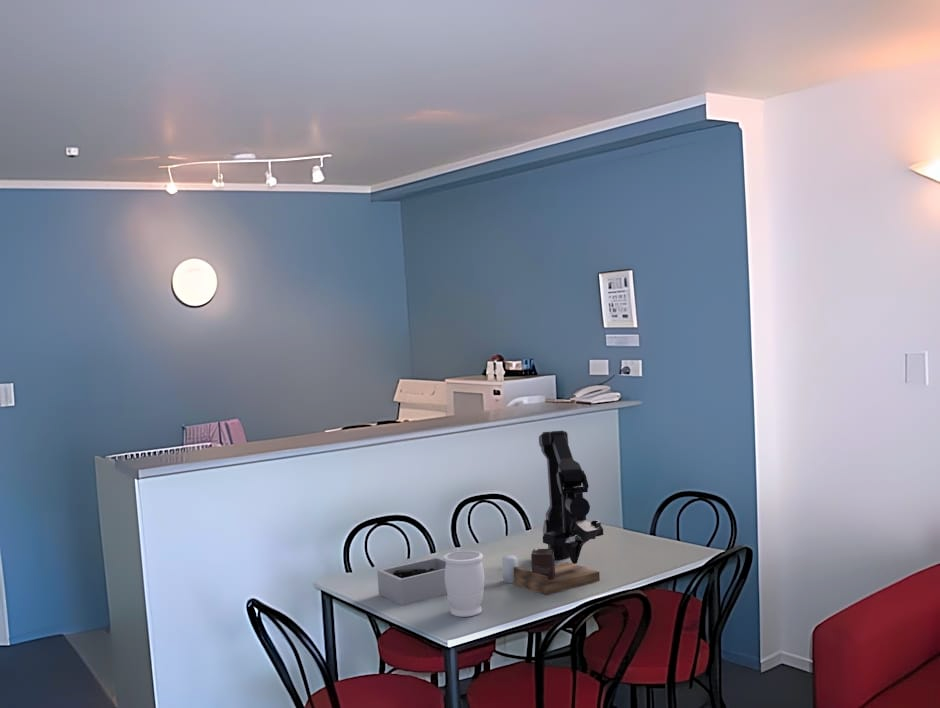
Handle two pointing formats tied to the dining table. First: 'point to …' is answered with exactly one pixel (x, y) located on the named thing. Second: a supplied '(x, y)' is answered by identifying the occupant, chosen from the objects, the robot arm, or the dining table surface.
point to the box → (543, 562)
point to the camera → (411, 572)
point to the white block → (509, 568)
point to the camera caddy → (413, 582)
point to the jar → (464, 582)
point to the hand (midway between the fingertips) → (574, 563)
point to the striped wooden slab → (555, 578)
